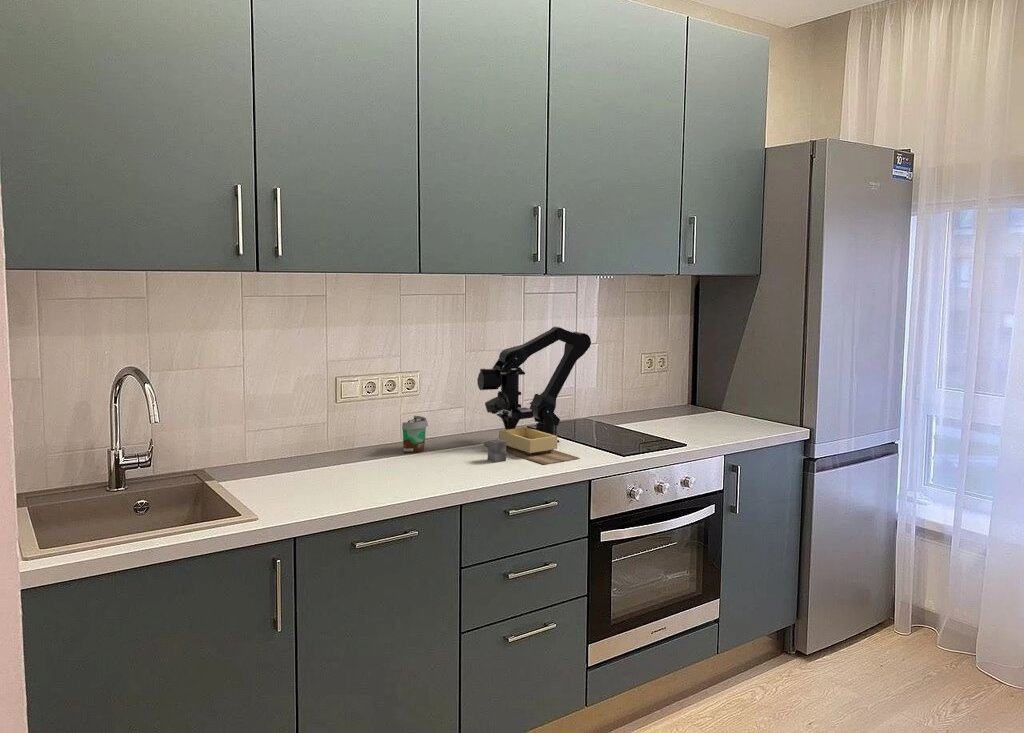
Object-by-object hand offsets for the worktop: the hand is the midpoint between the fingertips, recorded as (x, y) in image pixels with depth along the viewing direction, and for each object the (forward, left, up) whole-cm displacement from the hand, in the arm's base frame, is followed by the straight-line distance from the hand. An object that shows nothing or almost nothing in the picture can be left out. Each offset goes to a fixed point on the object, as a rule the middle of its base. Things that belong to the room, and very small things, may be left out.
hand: (509, 435), depth 273 cm
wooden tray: (0, +10, -3) cm, 10 cm away
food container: (+29, -9, -3) cm, 31 cm away
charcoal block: (+16, +15, -3) cm, 22 cm away
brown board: (0, +11, -3) cm, 11 cm away
